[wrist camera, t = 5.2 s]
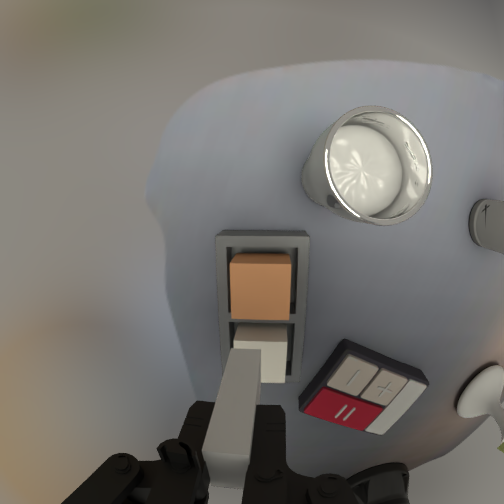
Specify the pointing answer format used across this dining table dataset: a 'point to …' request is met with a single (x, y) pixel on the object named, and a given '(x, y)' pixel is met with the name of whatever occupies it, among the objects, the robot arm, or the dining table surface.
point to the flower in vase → (484, 397)
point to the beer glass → (369, 167)
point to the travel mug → (488, 224)
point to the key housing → (299, 257)
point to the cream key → (265, 347)
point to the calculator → (362, 389)
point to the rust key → (260, 286)
